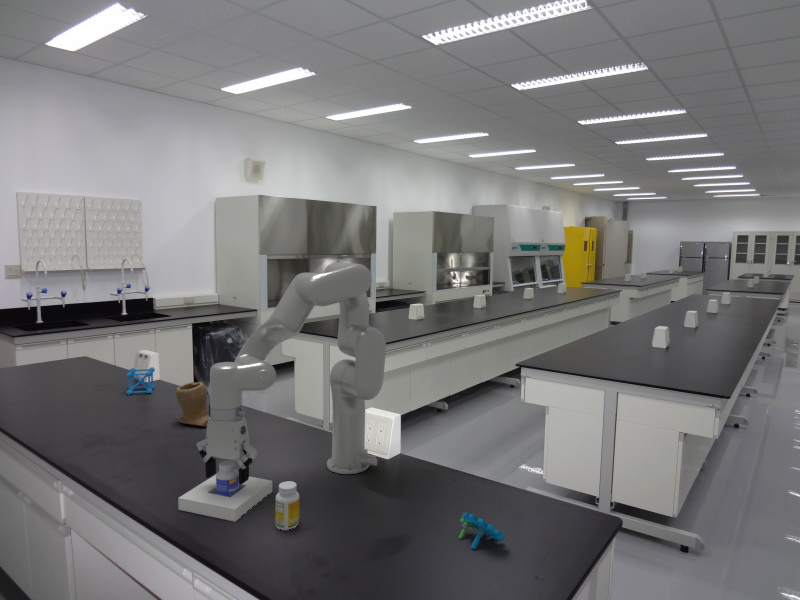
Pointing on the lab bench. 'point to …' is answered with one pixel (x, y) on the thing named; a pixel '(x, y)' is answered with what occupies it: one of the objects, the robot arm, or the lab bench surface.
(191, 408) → the tan hollow piece
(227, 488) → the pill bottle
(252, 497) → the white square frame
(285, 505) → the supplement bottle
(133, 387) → the molecular structure
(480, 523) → the blue plastic legged piece
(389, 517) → the lab bench surface
